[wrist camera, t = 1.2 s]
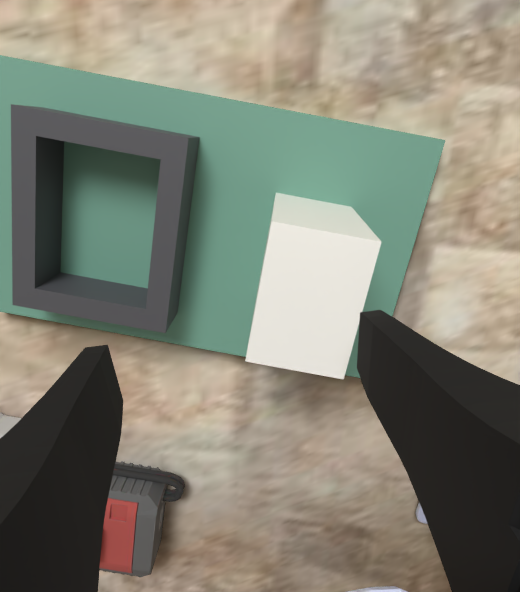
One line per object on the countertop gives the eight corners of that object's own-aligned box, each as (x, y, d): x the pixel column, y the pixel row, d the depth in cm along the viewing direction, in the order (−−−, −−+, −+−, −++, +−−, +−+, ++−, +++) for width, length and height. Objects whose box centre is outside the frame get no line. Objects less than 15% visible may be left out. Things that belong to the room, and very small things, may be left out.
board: (437, 139, 21) (467, 141, 17) (369, 370, 25) (382, 407, 22) (-1, 56, 21) (-56, 41, 17) (2, 303, 25) (-41, 329, 21)
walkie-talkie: (193, 438, 28) (-139, 383, 27) (177, 493, 23) (-215, 428, 23) (179, 547, 31) (-121, 498, 30) (162, 612, 26) (-185, 556, 26)
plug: (351, 206, 21) (381, 241, 14) (326, 307, 23) (343, 379, 16) (275, 192, 21) (271, 221, 14) (256, 294, 23) (245, 361, 16)
